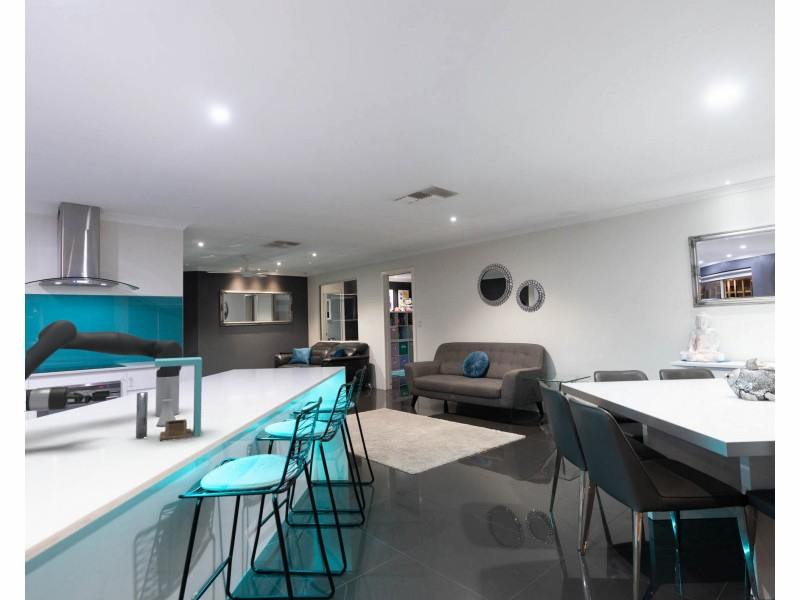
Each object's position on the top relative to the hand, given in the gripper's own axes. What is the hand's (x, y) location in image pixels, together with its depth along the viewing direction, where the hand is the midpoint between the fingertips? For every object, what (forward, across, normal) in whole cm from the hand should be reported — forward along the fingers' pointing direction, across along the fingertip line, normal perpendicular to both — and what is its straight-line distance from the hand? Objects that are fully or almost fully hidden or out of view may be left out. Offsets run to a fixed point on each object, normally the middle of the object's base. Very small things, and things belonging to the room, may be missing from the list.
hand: (108, 395), depth 150 cm
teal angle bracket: (+22, -4, +16) cm, 27 cm away
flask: (+18, +17, +16) cm, 30 cm away
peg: (+11, 0, +16) cm, 19 cm away
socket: (+22, -4, +16) cm, 27 cm away
